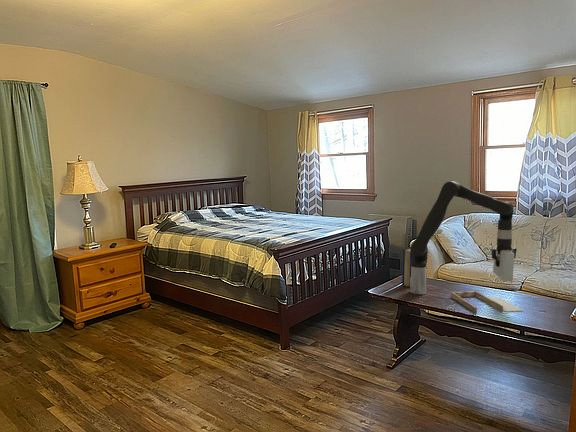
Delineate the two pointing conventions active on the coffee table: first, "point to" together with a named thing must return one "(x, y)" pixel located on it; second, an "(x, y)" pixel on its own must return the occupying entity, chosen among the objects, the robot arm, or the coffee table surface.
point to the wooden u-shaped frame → (458, 296)
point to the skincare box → (504, 265)
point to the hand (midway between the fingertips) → (503, 266)
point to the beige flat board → (506, 305)
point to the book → (406, 267)
